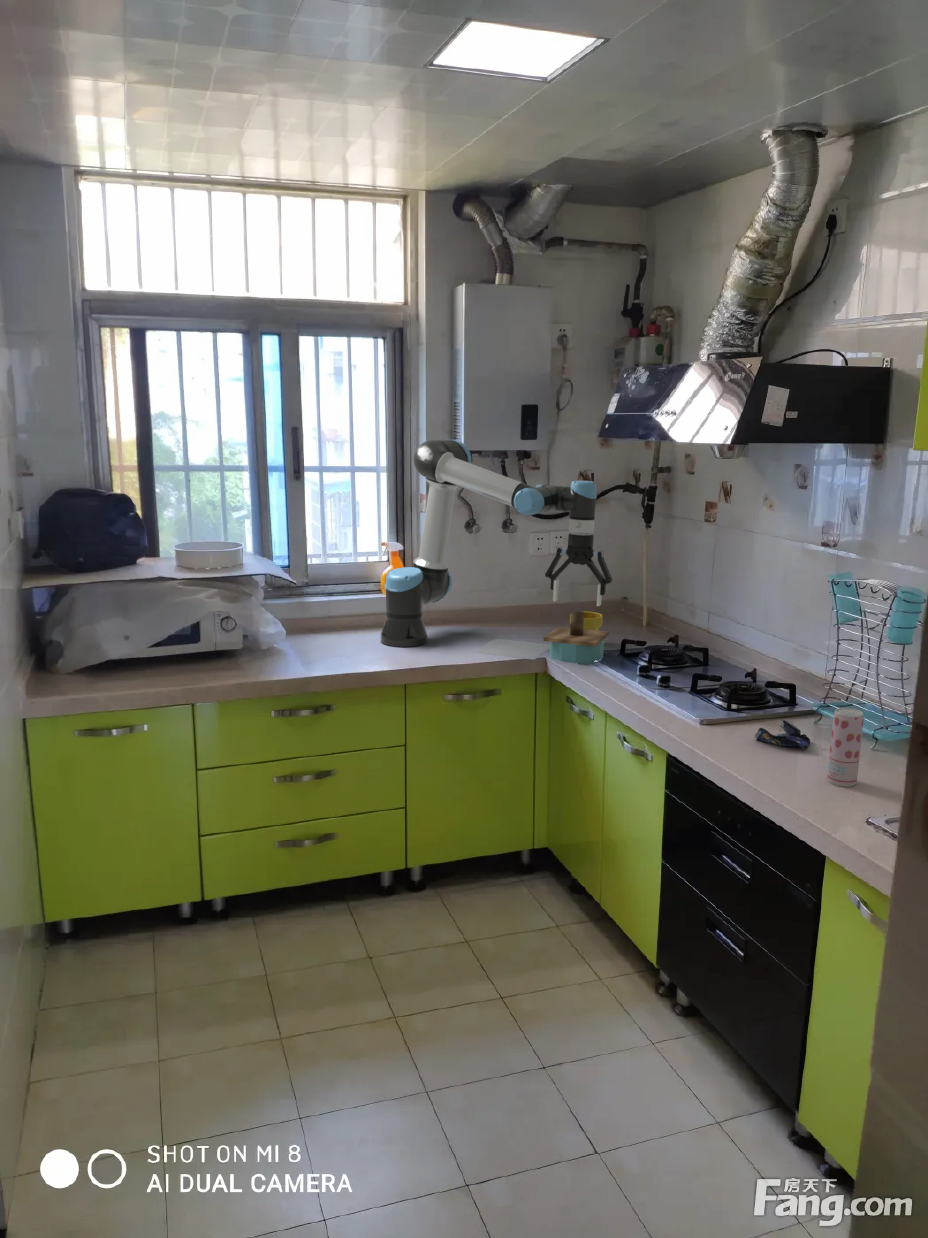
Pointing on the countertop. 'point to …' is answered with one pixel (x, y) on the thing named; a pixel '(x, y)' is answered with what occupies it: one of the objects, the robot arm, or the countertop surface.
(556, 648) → the bowl
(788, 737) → the snack package
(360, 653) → the countertop surface
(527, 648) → the mat
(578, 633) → the lid
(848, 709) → the beverage can
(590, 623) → the plant pot
